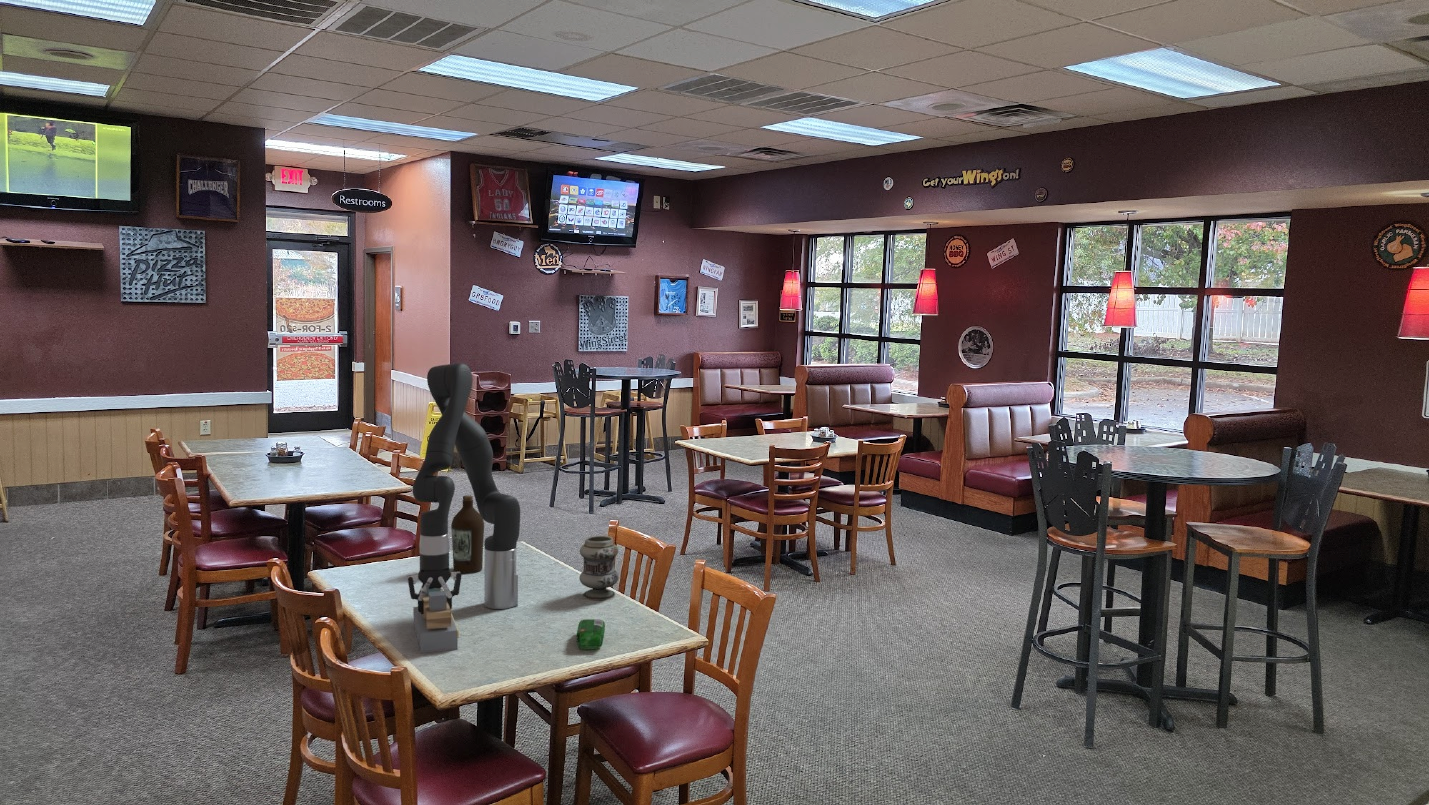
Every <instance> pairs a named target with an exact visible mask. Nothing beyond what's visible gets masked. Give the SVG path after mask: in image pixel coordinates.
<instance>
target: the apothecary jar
mask: <svg viewBox="0 0 1429 805" xmlns="http://www.w3.org/2000/svg"><path fill="white" fill-rule="evenodd" d="M614 543H615V542H614V538H613V537H611V536H608V535H593V536H588V537H585V539H584V544H583V545H581V547H580V548H579V554H580V556H581V557H583V569H582V570H583V571H582V572H581V573H580V575H579V576H578V577H579V578H578V579H579V582H580V583H581V585H583V586H585V587H587V588H589V589H588V590H586V591H584V592H583V594H582V597H583V598H584V599H587V600H591V601H605V600H610V599H612V598H615V596H616V593H615V592H614V591H613V590H611V589H608V588H610V587H613V586H614V585H615V584H617V582H618V581H619V578H620V576H619V573H618V572H617V571H616V568H615V557H616V556H617V555H618V554H619V547H618V546H617V545H616V544H614Z"/></svg>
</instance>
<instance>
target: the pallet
mask: <svg viewBox="0 0 1429 805" xmlns="http://www.w3.org/2000/svg"><path fill="white" fill-rule="evenodd" d="M441 591H444V589H443V588H441ZM423 600H424V614H423V617H424V619H426V627H427V629H433V628H443V627H451V613H452V609H450V607H449V604H448V602H447V610H443V611H432V612H430V609H429V596H424V598H423Z"/></svg>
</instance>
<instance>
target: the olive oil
mask: <svg viewBox="0 0 1429 805" xmlns="http://www.w3.org/2000/svg"><path fill="white" fill-rule="evenodd" d="M473 498H474V495H471V494H469V495H468V494H465V495H462V507H461V508H460V510H459V511H458V512H457V513H456V514H455V515H454V516H453V518H452V521H451V525H450V527H451V528H450V529H451V541H452V542H451V543H452V544H451V545H452V562H453V563H452V564H453V565H452V567H453V568H452V569H453V572H457V571H460V573H461V574H473V573H479V572H481V571H482V570H483V566H484V565H483V564H484V562H483V559H484V540H485V537H484V536H485V522H484V521H485V520H483V519H482V517H481V515H480V513H479V511H477V509H475V508H474V500H473Z"/></svg>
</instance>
